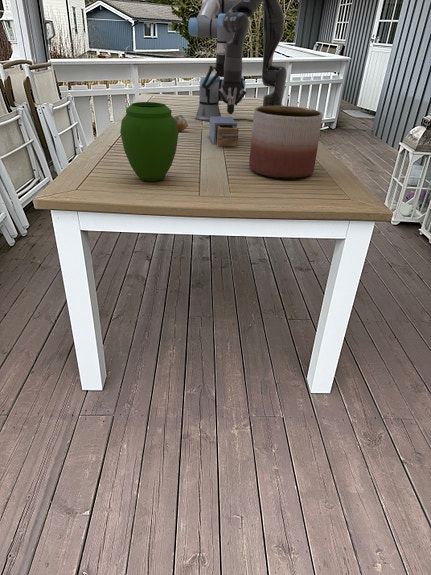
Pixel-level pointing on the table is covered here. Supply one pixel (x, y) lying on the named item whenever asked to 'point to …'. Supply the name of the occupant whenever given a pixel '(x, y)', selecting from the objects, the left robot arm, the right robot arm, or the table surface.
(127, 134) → the vase
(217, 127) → the drawer
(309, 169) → the planter
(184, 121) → the seashell
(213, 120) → the cabinet
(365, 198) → the table surface
